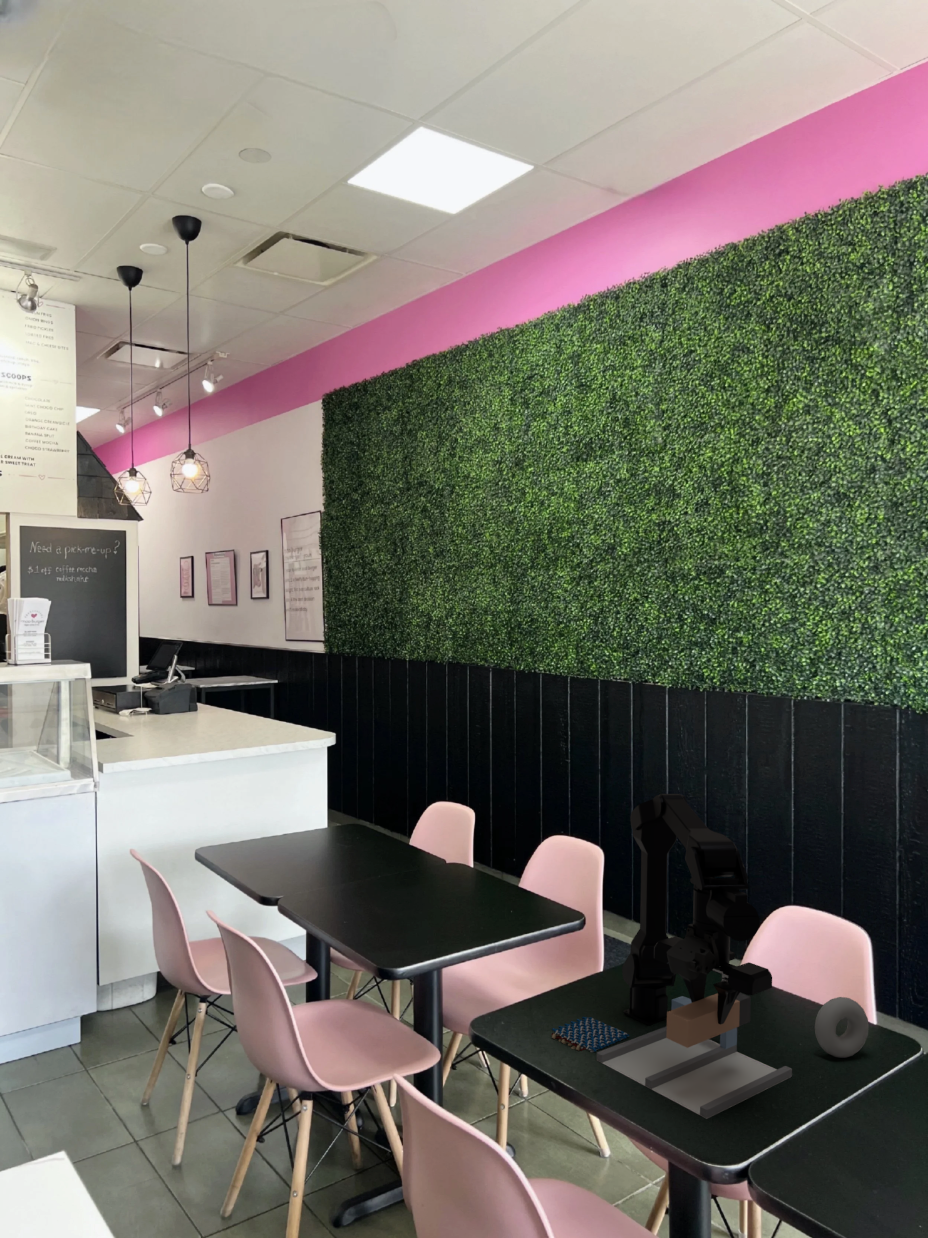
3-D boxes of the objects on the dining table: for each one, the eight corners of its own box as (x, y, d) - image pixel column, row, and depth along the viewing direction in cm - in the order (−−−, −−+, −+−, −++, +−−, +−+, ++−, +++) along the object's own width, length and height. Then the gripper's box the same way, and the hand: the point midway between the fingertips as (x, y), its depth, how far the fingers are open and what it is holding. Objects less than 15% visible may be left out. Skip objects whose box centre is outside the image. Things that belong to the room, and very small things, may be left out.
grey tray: (596, 1065, 147) (597, 1025, 148) (681, 1031, 161) (682, 996, 161) (706, 1124, 130) (707, 1079, 130) (791, 1081, 144) (792, 1041, 144)
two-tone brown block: (666, 1038, 138) (666, 1012, 138) (729, 1013, 147) (729, 988, 147) (687, 1048, 134) (688, 1021, 135) (750, 1022, 144) (750, 997, 144)
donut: (858, 1049, 156) (859, 991, 156) (872, 1058, 152) (873, 999, 153) (809, 1055, 153) (810, 996, 153) (822, 1064, 150) (823, 1004, 150)
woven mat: (594, 1063, 149) (595, 1050, 149) (548, 1040, 157) (548, 1028, 157) (634, 1045, 156) (634, 1034, 156) (588, 1025, 164) (588, 1013, 164)
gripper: (632, 912, 144) (630, 1010, 143) (730, 946, 129) (728, 1055, 129) (676, 901, 151) (674, 994, 150) (775, 932, 136) (773, 1035, 136)
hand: (709, 1018), depth 141 cm, fingers closed on two-tone brown block, 4 cm apart
